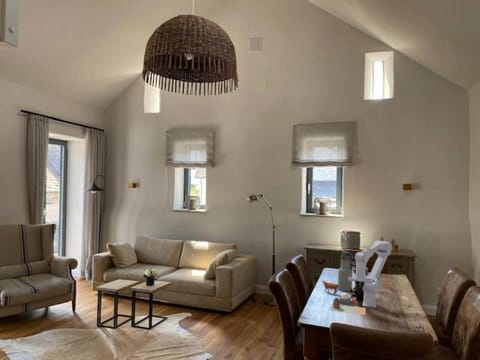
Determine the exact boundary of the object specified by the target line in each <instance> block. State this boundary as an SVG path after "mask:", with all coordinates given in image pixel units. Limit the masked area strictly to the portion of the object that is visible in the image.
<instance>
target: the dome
mask: <svg viewBox="0 0 480 360" xmlns="http://www.w3.org/2000/svg"><path fill="white" fill-rule="evenodd" d="M349 295H350V294H349V293H348V292H343V293H342V294H341V295H340V296H341V299H348V300H349V297H350V296H349Z"/></svg>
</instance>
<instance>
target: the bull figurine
mask: <svg viewBox="0 0 480 360" xmlns="http://www.w3.org/2000/svg"><path fill="white" fill-rule="evenodd" d="M321 284H323V285H324V286H323V287H324V293H326V292H327V293H330V291H333V292H332V293H333V295H336V294H337V293H338V291H339V289H338V288H339V287H338V283H332V282H329V281H328V280H326V279H323V280H322V281H321ZM329 290H330V291H329Z"/></svg>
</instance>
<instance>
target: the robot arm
mask: <svg viewBox="0 0 480 360" xmlns="http://www.w3.org/2000/svg"><path fill="white" fill-rule="evenodd" d="M392 250H393V245H392V243H391V241H384V240H379V239H377V240H375V241H374V242H373V245H372V246H370V247H365V249H363V250H362V251H358V252H356V253H355V254H354V255H355V256H354V260H355V265H356V266H355V277H353V276H352V277H348V281H352V282H355V286H356V289H357V292H358V295H361V294H362V291H363V301H362V306H363V307H368V308H377V301H376V298H377V296H376V293H378V291H379V290H380V289H379V288H380V285H381V283H380V281H379V277H380V275H381V272H382V270H383V268H384V265H385V263H386V261H387V259H388V257H389V256H390V254H391V252H392ZM375 253H376V254H377V255H378V257H377V259H376V260H375V262H374V265H373V267H372V270H371V271H370V273H369V275H367V276H366V273H367V272H366V270H367V263H368V261H369V259H370V258H371V257H373V256H374V254H375Z"/></svg>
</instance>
